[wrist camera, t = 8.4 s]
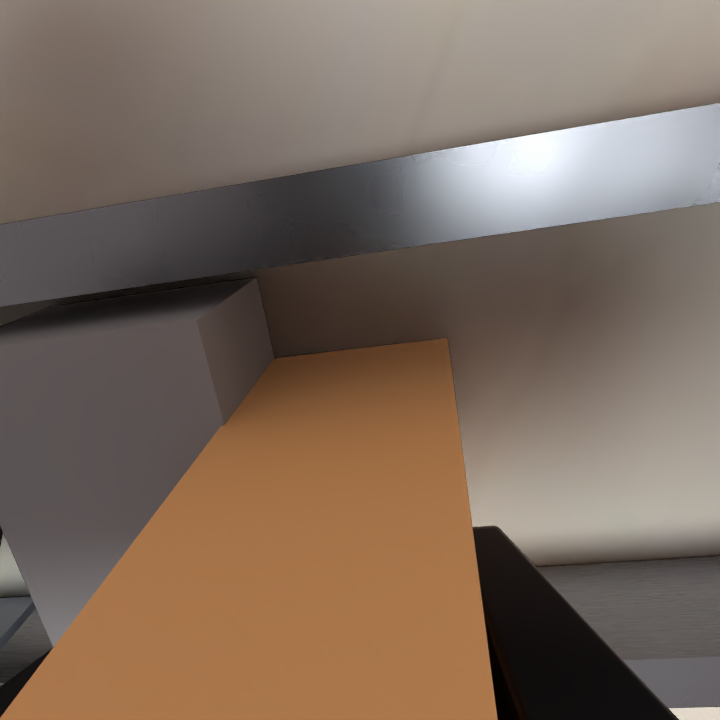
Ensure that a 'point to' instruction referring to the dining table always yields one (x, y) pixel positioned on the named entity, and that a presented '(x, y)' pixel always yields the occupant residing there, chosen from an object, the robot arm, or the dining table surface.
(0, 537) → the billiard ball
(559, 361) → the dining table surface
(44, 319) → the two-tone block
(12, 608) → the grey u-shaped end bracket
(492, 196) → the grey rectangular frame
